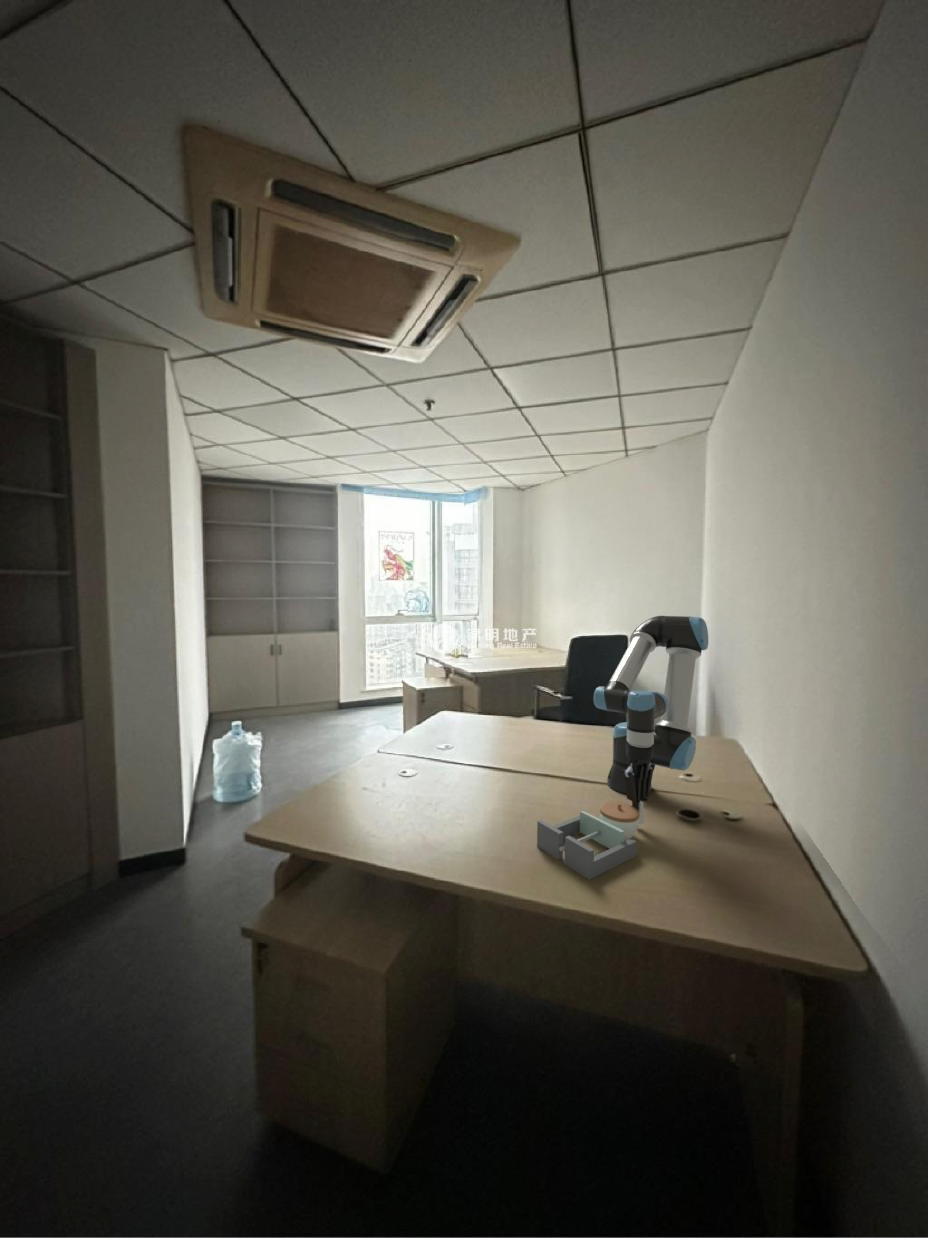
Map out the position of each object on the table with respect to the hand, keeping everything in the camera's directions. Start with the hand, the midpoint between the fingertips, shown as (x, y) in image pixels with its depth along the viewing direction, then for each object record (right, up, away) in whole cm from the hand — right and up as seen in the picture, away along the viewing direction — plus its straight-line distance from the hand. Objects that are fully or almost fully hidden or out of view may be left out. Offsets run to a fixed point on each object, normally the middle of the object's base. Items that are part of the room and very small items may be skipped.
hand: (637, 822), depth 135 cm
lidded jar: (-7, -2, -5) cm, 9 cm away
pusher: (-20, -2, -14) cm, 25 cm away
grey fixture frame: (-18, -2, -13) cm, 22 cm away
